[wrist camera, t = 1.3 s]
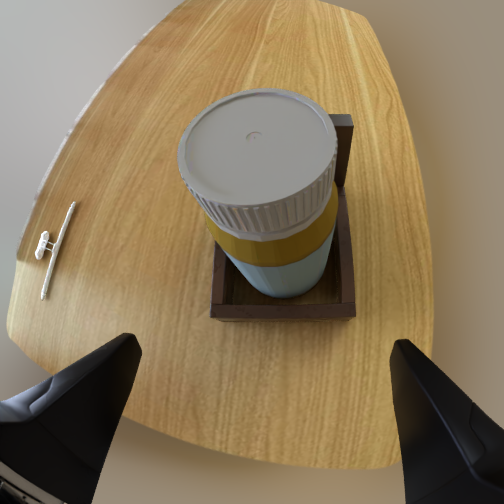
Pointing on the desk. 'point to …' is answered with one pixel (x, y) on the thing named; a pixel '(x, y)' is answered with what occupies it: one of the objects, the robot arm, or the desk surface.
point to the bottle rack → (343, 262)
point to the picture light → (42, 247)
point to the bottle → (266, 185)
